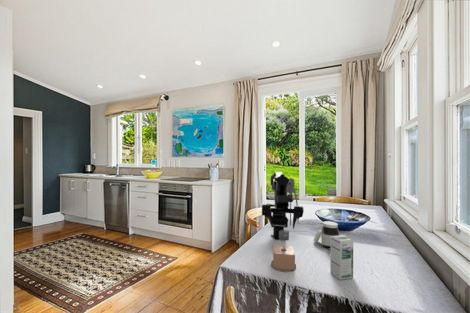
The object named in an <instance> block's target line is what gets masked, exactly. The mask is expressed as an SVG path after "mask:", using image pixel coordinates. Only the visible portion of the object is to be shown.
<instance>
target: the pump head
mask: <svg viewBox="0 0 470 313" xmlns="http://www.w3.org/2000/svg"><path fill="white" fill-rule="evenodd" d="M279 240H280V241H281V243H282V245H281V246H282V251H285V246H286V241H287V242H288V241H290V231H289V230H287V229H284V230H280V231H279Z"/></svg>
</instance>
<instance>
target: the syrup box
mask: <svg viewBox="0 0 470 313" xmlns="http://www.w3.org/2000/svg"><path fill="white" fill-rule="evenodd" d="M329 264H330V266H329V267H330V271H329V272H330V274H332V275H333V276H334V277H336V278H337V279H338V280H340V281H342V280H349V279H353V278H354V239H352V238H351V237H349V236H347V235H344V234H341V235H340V234H339V236H331V249H330V262H329Z"/></svg>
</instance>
